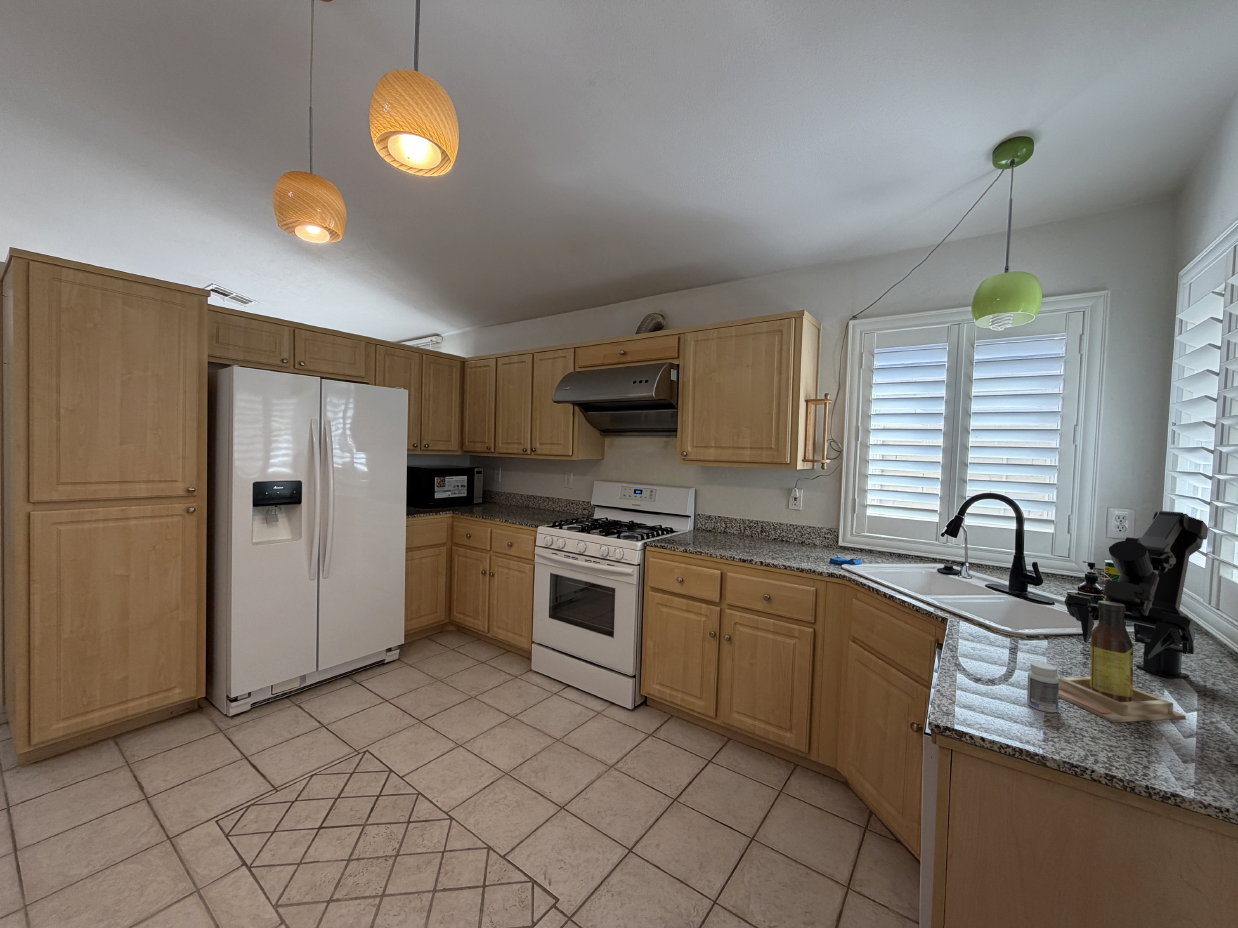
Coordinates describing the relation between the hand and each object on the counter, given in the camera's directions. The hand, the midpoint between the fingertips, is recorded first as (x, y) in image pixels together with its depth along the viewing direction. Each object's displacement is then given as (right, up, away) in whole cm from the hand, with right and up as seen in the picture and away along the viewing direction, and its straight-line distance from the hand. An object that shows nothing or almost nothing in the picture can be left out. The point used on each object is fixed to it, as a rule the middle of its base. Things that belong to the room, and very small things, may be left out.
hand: (1114, 649), depth 100 cm
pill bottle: (-18, -11, -3) cm, 21 cm away
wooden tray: (-1, -11, 0) cm, 11 cm away
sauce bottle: (-1, -11, 0) cm, 11 cm away
